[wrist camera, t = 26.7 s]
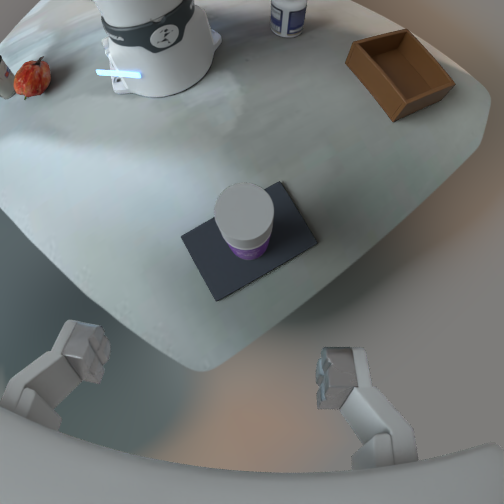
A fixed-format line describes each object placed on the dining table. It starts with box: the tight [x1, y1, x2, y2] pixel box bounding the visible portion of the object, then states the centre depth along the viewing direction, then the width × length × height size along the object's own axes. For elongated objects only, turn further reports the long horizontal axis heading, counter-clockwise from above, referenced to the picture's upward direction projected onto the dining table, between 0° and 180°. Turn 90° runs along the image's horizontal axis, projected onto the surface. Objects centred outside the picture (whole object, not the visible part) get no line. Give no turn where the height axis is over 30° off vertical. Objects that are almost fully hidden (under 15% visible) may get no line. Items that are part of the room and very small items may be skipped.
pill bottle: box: [270, 0, 307, 37], centre depth 38 cm, size 5×5×10 cm
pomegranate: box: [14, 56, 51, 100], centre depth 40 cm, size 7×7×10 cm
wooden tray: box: [345, 29, 455, 122], centre depth 39 cm, size 12×12×5 cm
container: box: [214, 182, 274, 260], centre depth 31 cm, size 5×5×15 cm
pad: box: [181, 181, 317, 301], centre depth 39 cm, size 9×14×1 cm, turn 120°
